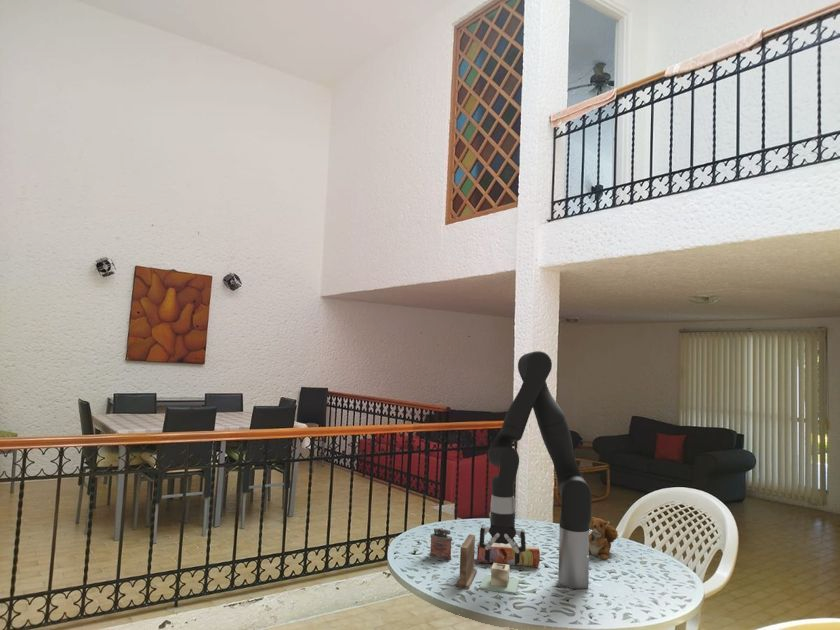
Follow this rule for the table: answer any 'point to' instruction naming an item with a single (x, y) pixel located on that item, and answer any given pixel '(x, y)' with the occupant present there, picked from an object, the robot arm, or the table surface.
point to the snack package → (510, 555)
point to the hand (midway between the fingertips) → (502, 563)
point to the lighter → (441, 544)
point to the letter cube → (500, 574)
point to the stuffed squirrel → (601, 538)
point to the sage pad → (509, 589)
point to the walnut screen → (467, 563)
